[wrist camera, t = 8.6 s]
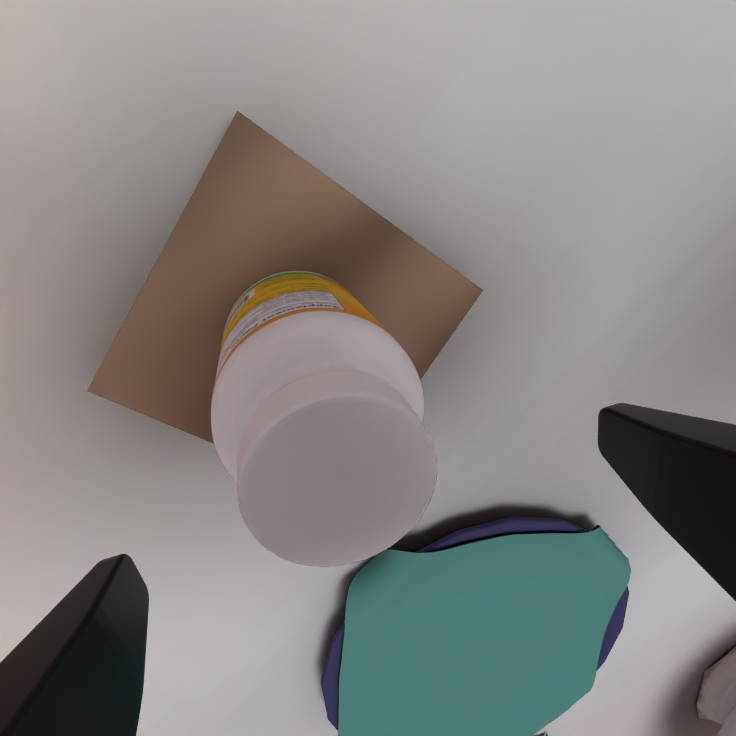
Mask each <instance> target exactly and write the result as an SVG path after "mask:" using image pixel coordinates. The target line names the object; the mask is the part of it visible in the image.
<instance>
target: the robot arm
mask: <svg viewBox="0 0 736 736" xmlns="http://www.w3.org/2000/svg"><path fill="white" fill-rule="evenodd" d="M598 447H599V450H600V452H601V454H602V456H603V457H604V458H605V459H606V461H607V462H608V463H609V464H610V466H611V467H612V468H613V469H614V470H615V472H616V473H617V474H618V475H619V477H620V478H621V479H622V480H623V481H624V483H625V484H626V485H627V486H628V488H629V489H630V490H631V491H632V493H633V494H634V495H635V496H636V497H637V499H638V500H639V501H640V502H641V504H642V505H643V506H644V507H645V508H646V509H647V511H648V512H649V513H650V514H651V515H652V516H653V518H654V519H655V520H656V521H657V522H658V523H659V524H660V525H661V526H662V527H663V528H664V529H665V530H666V531H667V532H668V533H669V534H670V535H671V536H672V537H673V538H674V539H675V540H676V541H677V542H678V543H679V544H680V545H681V546H682V547H683V548H684V549H685V550H686V551H687V552H688V553H689V554H690V555H691V556H692V557H693V558H694V559H695V560H696V561H697V563H698V564H699V565H700V566H701V567H702V568H703V569H704V570H705V571H706V572H707V573H708V574H709V575H710V576H711V577H712V578H713V579H714V580H715V581H716V582H717V583H718V584H719V585H720V586H721V587H722V588H723V589H724V590H725V591H726V592H727V593H728V594H729V595H730V596H731V597H732V598H733V599H734V600H735V601H736V425H734V424H729V423H724V422H718V421H713V420H708V419H703V418H698V417H692V416H687V415H682V414H677V413H672V412H667V411H661V410H656V409H651V408H646V407H641V406H636V405H630V404H625V403H618V404H614V405H611V406H608V407H604V408H603V409H601V410H600V412H599V416H598ZM148 608H149V594H148V590H147V587H146V584H145V583H144V581H143V579H142V577H141V575H140V573H139V571H138V570H137V568H136V566H135V564H134V562H133V560H132V559H131V557H130V556H128V555H127V554H120V555H117V556H114V557H110V558H107V559H104V560H102V561H100V562H99V563H97V564H96V565H95V566H94V567H93V568H92V570H91V571H90V572H89V573H88V574H87V575H86V576H85V577H84V578H83V579H82V580H81V581H80V582H79V583H78V584H77V585H76V586H75V587H74V588H73V589H72V590H71V591H70V592H69V593H68V594H67V595H66V596H65V597H64V598H63V599H62V600H61V601H60V602H59V603H58V604H57V605H56V606H55V607H54V608H53V609H52V610H51V612H50V613H49V614H48V615H47V616H46V617H45V618H44V619H43V620H42V621H41V622H40V623H39V624H38V625H37V626H36V627H35V628H34V629H33V630H32V631H31V632H30V633H29V634H28V635H27V636H26V637H25V638H24V639H23V640H22V641H21V642H20V643H19V644H18V645H17V646H16V647H15V648H14V649H13V650H12V651H11V652H10V653H9V654H8V656H7V657H6V658H5V659H4V660H3V661H2V662H1V663H0V736H136V732H137V726H138V720H139V714H140V708H141V701H142V694H143V684H144V671H145V655H146V640H147V624H148Z"/></svg>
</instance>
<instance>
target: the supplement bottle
mask: <svg viewBox="0 0 736 736" xmlns="http://www.w3.org/2000/svg"><path fill="white" fill-rule="evenodd" d="M423 417H424V397H423V390H422V385H421V382H420V378H419V376H418V373H417V371H416V368H415V366H414V365H413V363H412V361H411V359H410V358H409V356H408V355H407V354H406V352H405V351H404V350H403V348H402V347H401V346H400V345H399V343H398V342H397V341H396V340H395V339H394V338H393V337H392V336H391V335H390V334H389V332H388V331H387V330H386V329H385V328H384V327H383V326H382V325H381V324H380V323H379V322H378V321H377V320H376V319H375V318H374V317H373V316H372V315H371V314H370V313H369V312H368V311H367V309H366V308H365V307H364V306H363V305H362V304H361V303H360V302H359V301H358V300H357V299H356V298H355V297H354V296H353V295H352V294H351V293H350V292H349V291H348V290H347V289H346V288H344V287H343V286H342V285H340V284H339V283H338V282H336V281H334V280H332V279H331V278H328V277H326V276H324V275H321V274H318V273H314V272H308V271H287V272H281V273H277V274H273V275H270V276H268V277H266V278H263V279H262V280H260V281H258V282H257V283H255V284H254V285H252V286H251V287H250V288H249V289H247V290H246V291H245V292H244V293H243V294H242V295H241V297H240V298H239V299H238V300H237V302H236V303H235V304H234V306H233V308H232V310H231V312H230V314H229V317H228V319H227V322H226V325H225V329H224V333H223V339H222V344H221V351H220V356H219V363H218V368H217V374H216V379H215V384H214V389H213V395H212V402H211V428H212V436H213V441H214V445H215V448H216V451H217V453H218V456H219V458H220V460H221V462H222V464H223V466H224V467H225V469H226V470H227V472H228V473H229V475H230V476H231V477H232V478H233V479H234V481H235V482H236V483H237V491H238V502H239V507H240V511H241V514H242V517H243V519H244V522H245V523H246V525H247V527H248V529H249V531H250V532H251V533H252V535H253V536H254V537H255V539H256V540H257V541H258V542H260V543H261V544H262V545H263V546H264V547H265V548H266V549H267V550H269V551H271V552H272V553H274V554H276V555H277V556H279V557H281V558H283V559H286V560H289V561H291V562H294V563H298V564H302V565H307V566H320V567H330V566H340V565H346V564H351V563H355V562H358V561H362V560H365V559H367V558H370V557H372V556H374V555H376V554H378V553H380V552H382V551H384V550H386V549H387V548H389V547H390V546H392V545H393V544H395V543H396V542H397V541H399V540H400V539H401V538H402V537H403V536H404V535H406V534H407V533H408V532H409V531H410V530H411V529H412V528H413V526H414V525H415V524H416V523H417V522H418V520H419V519H420V518H421V516H422V514H423V513H424V511H425V510H426V508H427V506H428V504H429V502H430V500H431V497H432V495H433V492H434V487H435V483H436V478H437V458H436V452H435V448H434V444H433V442H432V439H431V437H430V435H429V433H428V431H427V429H426V428H425V426H424V424H423Z"/></svg>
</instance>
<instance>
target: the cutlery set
mask: <svg viewBox="0 0 736 736" xmlns="http://www.w3.org/2000/svg"><path fill="white" fill-rule="evenodd" d="M630 572H631V569H630V565H629V561H628V558H627V557H626V556H625V555H624V554H622V551H621V550H620V549H619V548H617V547H616V545H615V543H614V542H613V541H612V540H611V539H610V538H609V537H608V535H607V534H606V533H605V532H604V531H603V530H602V529H601V527H600V526H598V525H597V526H596V527H594V528H593V529H592V530H591V531H589V530H586V529H584V528H582V527H579V526H577V525H574V524H572V523H570V522H567V521H565V520H562V519H560V518H534V517H508V518H504V519H500V520H496V521H492V522H488V523H484V524H480V525H476V526H472V527H468V528H464V529H460V530H457V531H455V532H453V533H451V534H449V535H447V536H445V537H443V538H441V539H440V540H438V541H436V542H434V543H432V544H430V545H428V546H426V547H424V548H422V549H420V550H418V551H417V552H415V553H413V552H405V551H398V550H384V551H382V552H380V553H379V554H378V555H376V556H375V557H374V558H373V559H372V560H370V561H369V562H368V563H367V564H366V565H364V566H363V567H362V569H361V570H360V571H359V572H358V573H357V574H356V576H355V577H354V579H353V581H352V583H351V584H350V586H349V591H348V595H347V600H346V611H345V620H344V621H343V623H342V624H341V626H340V627H339V629H338V630H337V632H336V633H335V635H334V636H333V638H332V641H331V645H330V648H329V652H328V656H327V660H326V664H325V668H324V671H323V675H322V680H321V685H322V690H323V695H324V701H325V706H326V711H327V716H328V720H329V721H330V722H331V723H332V724H333V725H334V727H335V728H336V729H337V730H338V736H532V735H534V734H535V733H537V732H538V731H539V730H541V729H542V728H543V727H545V726H546V725H547V724H549V723H550V722H552V721H553V720H555V719H556V718H558V717H559V716H560V715H561V714H563V713H564V712H565V711H566V710H568V709H569V708H570V707H571V706H572V705H573V704H574V703H576V702H577V701H578V700H579V699H580V698H581V697H583V696H584V695H585V694H586V693H588V692H589V691H590V690H591V688H592V686H593V684H594V681H595V677H596V671H597V670H598V669H599V668H600V666H601V665H602V664H603V663H604V662H605V660H606V658H607V656H608V654H609V652H610V651H611V649H612V647H613V645H614V643H615V641H616V639H617V637H618V635H619V633H620V632H621V630H622V628H623V623H624V617H625V612H626V607H627V601H628V596H629V591H628V586H627V584H628V582H629V578H630ZM546 736H548V735H547V733H546Z"/></svg>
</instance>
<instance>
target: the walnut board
mask: <svg viewBox="0 0 736 736" xmlns="http://www.w3.org/2000/svg"><path fill="white" fill-rule="evenodd" d="M287 271H308V272H314V273H318V274H321V275H324V276H326V277H328V278H331V279H332V280H334V281H336V282H338V283H339V284H340V285H342V286H343V287H344V288H346V289H347V290H348V291H349V292H350V293H351V294H352V295H353V296H354V297H355V298H356V299H357V300H358V301H359V302H360V303H361V304H362V305H363V306H364V307H365V308H366V309H367V311H368V312H369V313H370V314H371V315H372V316H373V317H374V318H375V319H376V320H377V321H378V322H379V323H380V324H381V325H382V326H383V327H384V328H385V329H386V330H387V331H388V332H389V334H390V335H391V336H392V337H393V338H394V339H395V340H396V341H397V342H398V343H399V345H400V346H401V347H402V348H403V350H404V351H405V352H406V354H407V355H408V356H409V358H410V359H411V361H412V363H413V365H414V366H415V368H416V371H417V373H418V376H419V378H420V379H421V378H422V377H423V375H424V374H425V372H426V371H427V369H428V368H429V367H430V365H431V364H432V362H433V361H434V359H435V358H436V357H437V355H438V354H439V352H440V351H441V349H442V348H443V347H444V345H445V344H446V342H447V341H448V339H449V338H450V337H451V335H452V334H453V332H454V331H455V329H456V328H457V327H458V325H459V324H460V322H461V321H462V319H463V318H464V317H465V315H466V314H467V312H468V311H469V310H470V308H471V307H472V305H473V304H474V302H475V301H476V300H477V298H478V297H479V295H480V294H481V292H482V291H483V290H482V289H481V288H479V287H478V286H477V285H475V284H474V283H472V282H471V281H470V280H468V279H467V278H466V277H464V276H463V275H462V274H460V273H459V272H457V271H456V270H455V269H453V268H452V267H451V266H449V265H448V264H446V263H445V262H444V261H442V260H441V259H440V258H438V257H437V256H435V255H434V254H433V253H431V252H430V251H429V250H427V249H426V248H425V247H423V246H422V245H420V244H419V243H418V242H416V241H415V240H414V239H412V238H411V237H409V236H408V235H407V234H405V233H404V232H403V231H401V230H400V229H399V228H397V227H396V226H394V225H393V224H392V223H390V222H389V221H388V220H386V219H385V218H383V217H382V216H381V215H379V214H378V213H377V212H375V211H374V210H372V209H371V208H370V207H368V206H367V205H366V204H364V203H363V202H362V201H360V200H359V199H357V198H356V197H355V196H353V195H352V194H351V193H349V192H348V191H346V190H345V189H344V188H342V187H341V186H340V185H338V184H337V183H335V182H334V181H333V180H331V179H330V178H329V177H327V176H326V175H325V174H323V173H322V172H320V171H319V170H318V169H316V168H315V167H314V166H312V165H311V164H309V163H308V162H307V161H305V160H304V159H303V158H301V157H300V156H299V155H297V154H296V153H294V152H293V151H292V150H290V149H289V148H288V147H286V146H285V145H283V144H282V143H281V142H279V141H278V140H277V139H275V138H274V137H272V136H271V135H270V134H268V133H267V132H266V131H264V130H263V129H262V128H260V127H259V126H257V125H256V124H255V123H253V122H252V121H251V120H249V119H248V118H246V117H245V116H244V115H242V114H241V113H240V112H238V111H237V113H236V114H235V116H234V118H233V120H232V122H231V124H230V126H229V127H228V129H227V131H226V133H225V135H224V137H223V139H222V140H221V142H220V144H219V146H218V148H217V150H216V152H215V154H214V155H213V157H212V159H211V161H210V163H209V165H208V167H207V168H206V170H205V172H204V174H203V176H202V178H201V180H200V182H199V183H198V185H197V187H196V189H195V191H194V193H193V195H192V196H191V198H190V200H189V202H188V204H187V206H186V208H185V209H184V211H183V213H182V215H181V217H180V219H179V221H178V223H177V224H176V226H175V228H174V230H173V232H172V234H171V236H170V237H169V239H168V241H167V243H166V245H165V247H164V249H163V251H162V252H161V254H160V256H159V258H158V260H157V262H156V264H155V265H154V267H153V269H152V271H151V273H150V275H149V277H148V278H147V280H146V282H145V284H144V286H143V288H142V290H141V292H140V293H139V295H138V297H137V299H136V301H135V303H134V305H133V306H132V308H131V310H130V312H129V314H128V316H127V318H126V320H125V321H124V323H123V325H122V327H121V329H120V331H119V333H118V334H117V336H116V338H115V340H114V342H113V344H112V346H111V347H110V349H109V351H108V353H107V355H106V357H105V359H104V361H103V362H102V364H101V366H100V368H99V370H98V372H97V374H96V375H95V377H94V379H93V381H92V383H91V385H90V387H89V389H88V390H87V391H89V392H91V393H94V394H96V395H98V396H101V397H103V398H106V399H108V400H110V401H113V402H115V403H118V404H120V405H123V406H125V407H127V408H130V409H132V410H135V411H137V412H139V413H142V414H144V415H147V416H149V417H151V418H154V419H156V420H159V421H161V422H164V423H166V424H168V425H171V426H173V427H176V428H178V429H180V430H183V431H185V432H188V433H190V434H193V435H195V436H197V437H200V438H202V439H205V440H207V441H209V442H212V443H214V441H213V436H212V428H211V402H212V395H213V389H214V384H215V379H216V374H217V368H218V363H219V356H220V351H221V344H222V339H223V333H224V329H225V325H226V322H227V319H228V317H229V314H230V312H231V310H232V308H233V306H234V304H235V303H236V302H237V300H238V299H239V298H240V297H241V295H242V294H243V293H244V292H245V291H246V290H247V289H249V288H250V287H251V286H252V285H254V284H255V283H257V282H258V281H260V280H262V279H263V278H266V277H268V276H270V275H273V274H277V273H281V272H287Z"/></svg>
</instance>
